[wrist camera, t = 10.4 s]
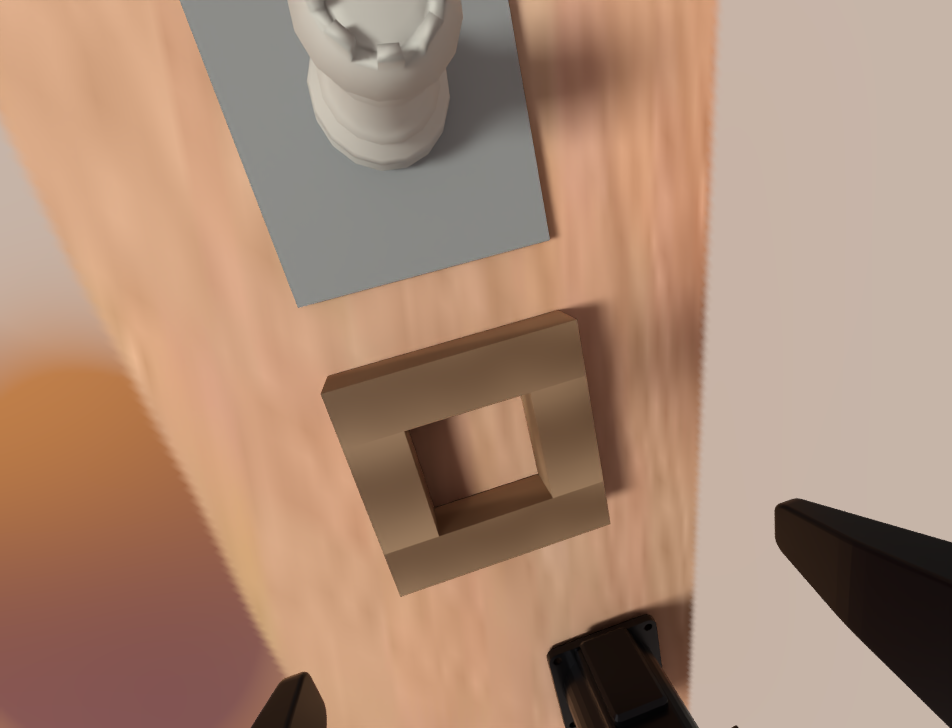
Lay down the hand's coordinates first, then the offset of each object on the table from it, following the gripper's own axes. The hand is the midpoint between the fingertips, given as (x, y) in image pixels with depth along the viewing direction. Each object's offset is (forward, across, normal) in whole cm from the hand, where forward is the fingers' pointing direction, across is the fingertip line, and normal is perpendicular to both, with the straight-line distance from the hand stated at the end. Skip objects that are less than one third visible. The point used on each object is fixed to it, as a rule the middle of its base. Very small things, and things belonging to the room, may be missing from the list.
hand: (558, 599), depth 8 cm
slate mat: (+12, 0, -11) cm, 16 cm away
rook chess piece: (+11, 0, -11) cm, 16 cm away
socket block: (+12, 0, +3) cm, 12 cm away
